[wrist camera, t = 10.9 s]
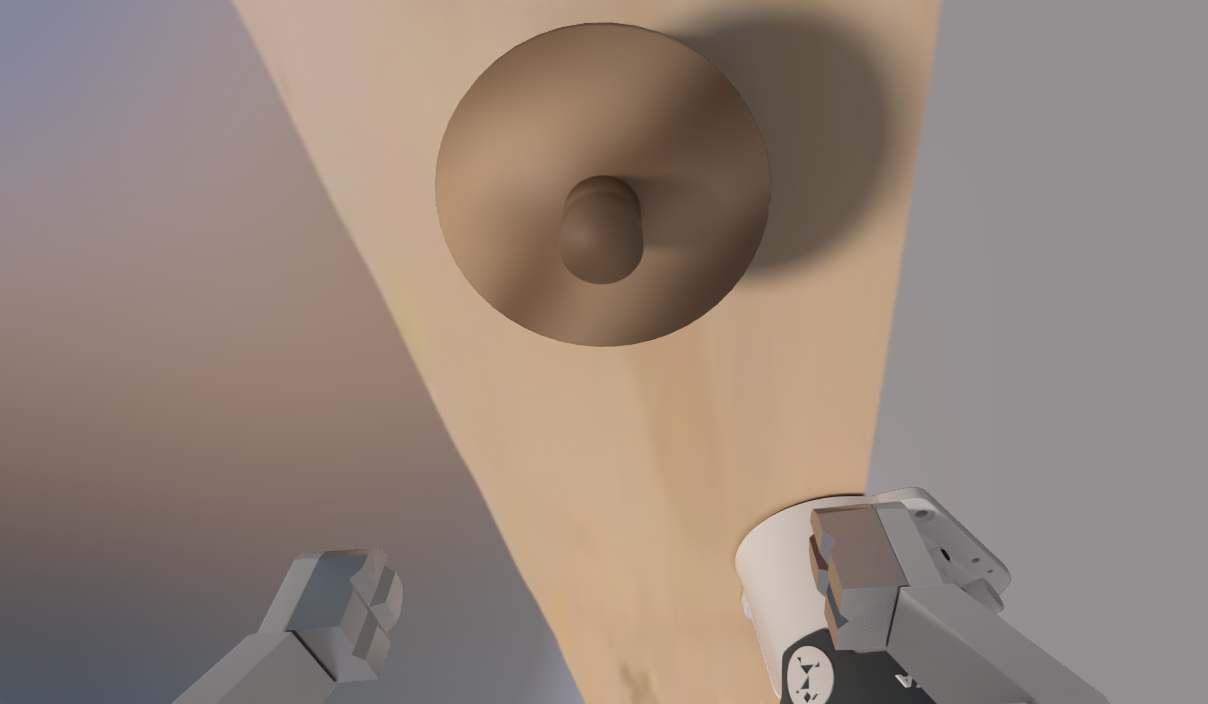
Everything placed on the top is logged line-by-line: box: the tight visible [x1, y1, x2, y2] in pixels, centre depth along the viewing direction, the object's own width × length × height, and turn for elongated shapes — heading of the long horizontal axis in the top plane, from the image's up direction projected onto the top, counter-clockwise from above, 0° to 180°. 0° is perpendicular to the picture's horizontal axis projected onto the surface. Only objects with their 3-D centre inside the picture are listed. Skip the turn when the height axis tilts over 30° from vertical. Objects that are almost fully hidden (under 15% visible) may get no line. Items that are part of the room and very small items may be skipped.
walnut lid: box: [435, 23, 770, 347], centre depth 23 cm, size 13×13×4 cm
